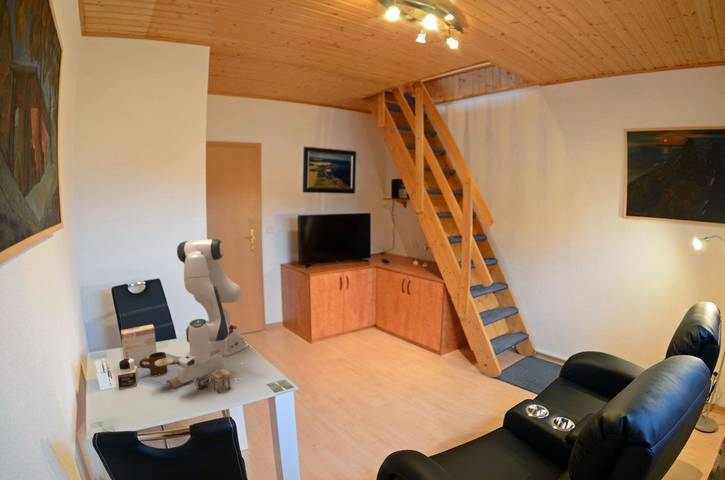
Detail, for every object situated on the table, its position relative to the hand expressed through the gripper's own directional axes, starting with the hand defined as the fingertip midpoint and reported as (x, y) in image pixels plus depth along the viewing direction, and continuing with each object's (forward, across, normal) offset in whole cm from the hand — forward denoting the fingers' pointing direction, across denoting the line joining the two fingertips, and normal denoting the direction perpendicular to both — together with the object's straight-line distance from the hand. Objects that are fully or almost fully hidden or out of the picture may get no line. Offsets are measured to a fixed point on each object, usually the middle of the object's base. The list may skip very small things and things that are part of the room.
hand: (202, 384), depth 183 cm
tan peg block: (+2, -5, +8) cm, 10 cm away
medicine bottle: (+2, +21, -30) cm, 37 cm away
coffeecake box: (+2, +9, -49) cm, 50 cm away
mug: (+2, +9, -32) cm, 33 cm away
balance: (+2, +3, -13) cm, 13 cm away
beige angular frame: (+2, -18, +2) cm, 18 cm away
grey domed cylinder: (+2, 0, 0) cm, 2 cm away
